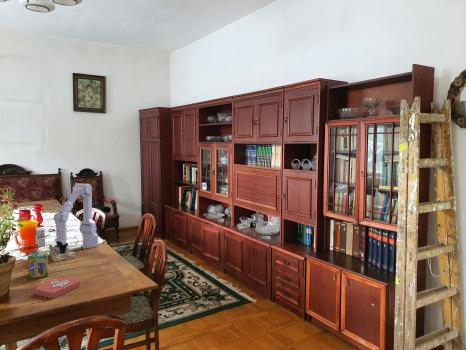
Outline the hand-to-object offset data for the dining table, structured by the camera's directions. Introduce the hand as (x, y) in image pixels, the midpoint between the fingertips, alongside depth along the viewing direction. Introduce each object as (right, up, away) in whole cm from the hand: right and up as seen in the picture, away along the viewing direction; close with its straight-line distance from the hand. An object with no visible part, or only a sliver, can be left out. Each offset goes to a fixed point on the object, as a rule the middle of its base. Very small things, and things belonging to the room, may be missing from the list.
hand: (62, 253), depth 228 cm
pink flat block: (+20, -8, -48) cm, 53 cm away
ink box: (-27, 0, +24) cm, 36 cm away
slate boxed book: (0, -2, 0) cm, 2 cm away
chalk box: (+1, -6, -30) cm, 30 cm away
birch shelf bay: (-1, -2, +2) cm, 3 cm away
